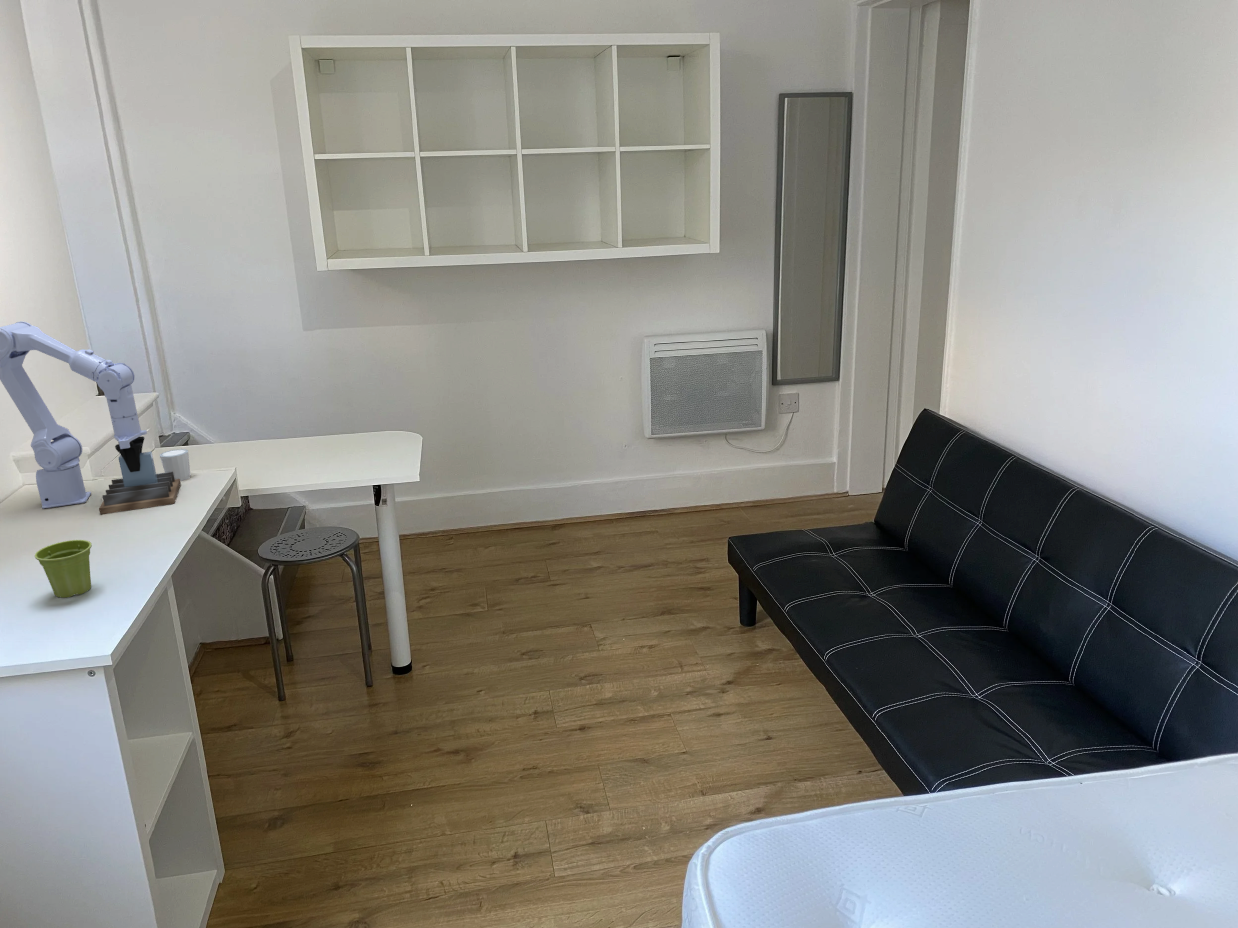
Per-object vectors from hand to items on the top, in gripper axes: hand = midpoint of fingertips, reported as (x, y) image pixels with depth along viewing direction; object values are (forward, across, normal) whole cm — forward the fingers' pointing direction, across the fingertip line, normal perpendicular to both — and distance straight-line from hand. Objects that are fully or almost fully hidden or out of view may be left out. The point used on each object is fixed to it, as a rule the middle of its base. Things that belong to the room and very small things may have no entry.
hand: (136, 469), depth 227 cm
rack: (+8, 0, 0) cm, 8 cm away
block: (+4, 0, 0) cm, 4 cm away
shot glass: (+8, +14, -7) cm, 17 cm away
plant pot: (+8, -55, +5) cm, 56 cm away
